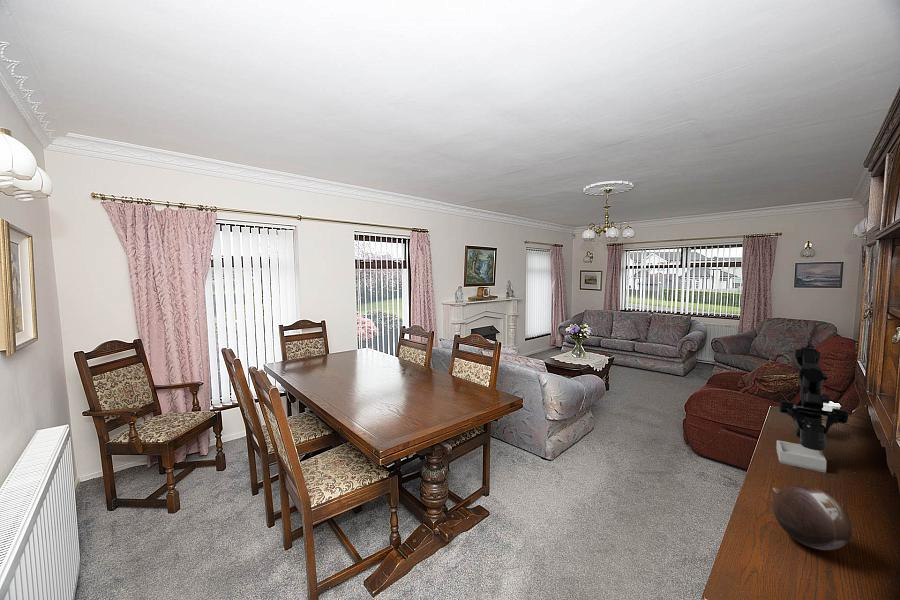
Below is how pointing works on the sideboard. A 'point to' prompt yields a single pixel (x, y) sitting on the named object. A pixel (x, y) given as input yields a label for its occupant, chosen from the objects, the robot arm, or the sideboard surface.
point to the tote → (800, 456)
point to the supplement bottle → (812, 433)
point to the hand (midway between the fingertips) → (812, 431)
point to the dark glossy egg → (812, 517)
